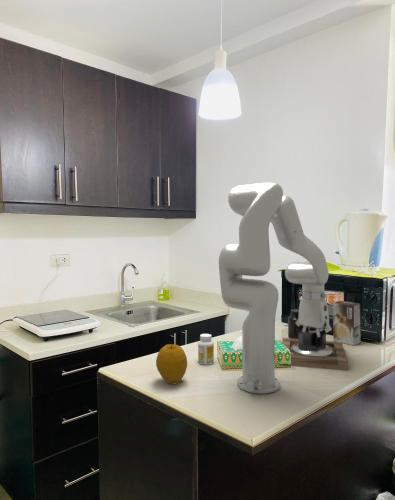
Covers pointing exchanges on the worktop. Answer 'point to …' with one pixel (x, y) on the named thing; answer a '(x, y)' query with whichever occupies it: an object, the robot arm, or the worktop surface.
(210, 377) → the worktop surface
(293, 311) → the supplement bottle
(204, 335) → the supplement bottle
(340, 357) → the dial housing
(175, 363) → the apple
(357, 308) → the coffee box
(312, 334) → the dial
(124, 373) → the worktop surface
